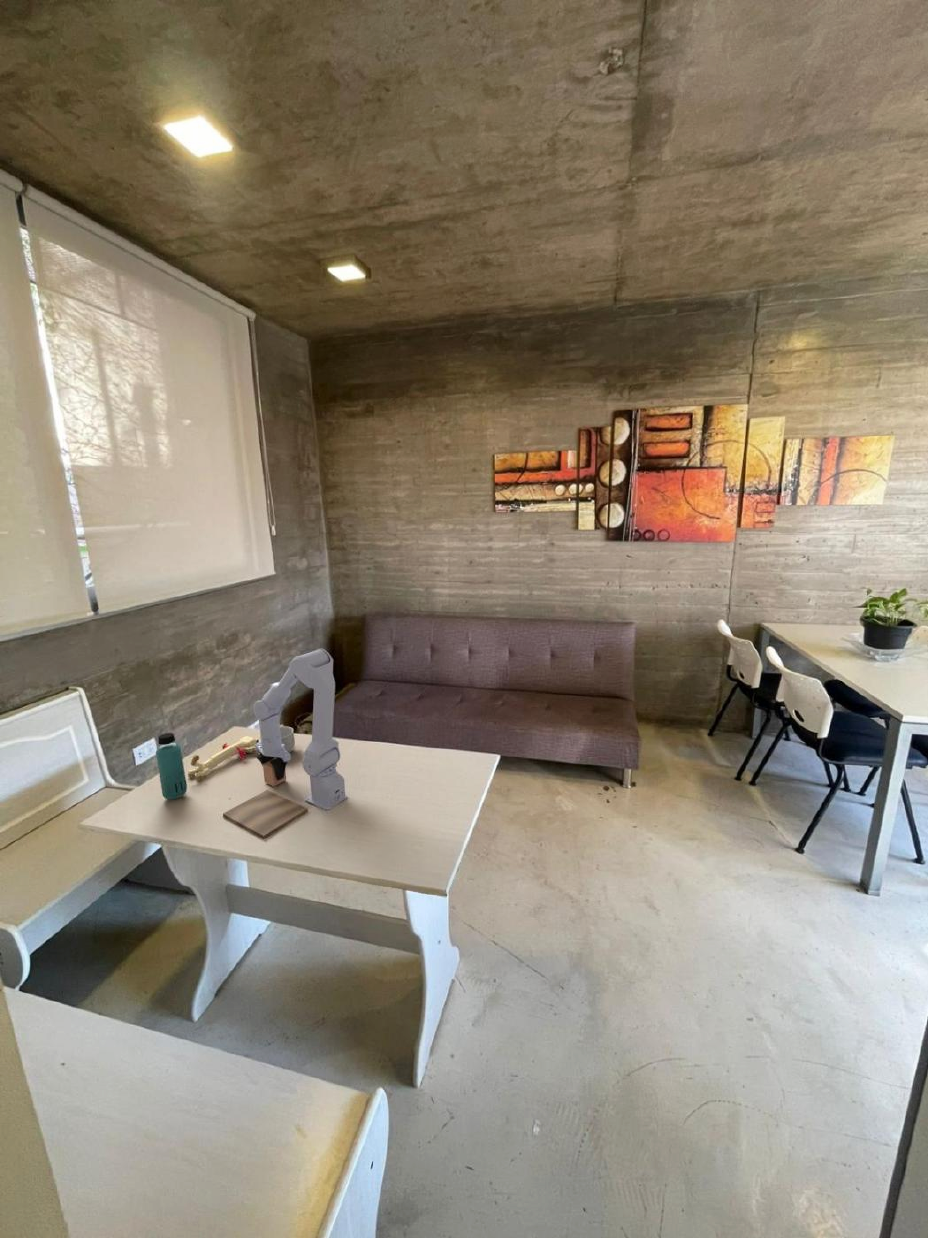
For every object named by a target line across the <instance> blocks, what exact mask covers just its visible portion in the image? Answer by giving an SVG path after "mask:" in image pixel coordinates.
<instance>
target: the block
mask: <svg viewBox="0 0 928 1238" xmlns="http://www.w3.org/2000/svg"><path fill="white" fill-rule="evenodd" d="M274 759H276V758H274ZM274 759H273V760H274ZM271 761H272V760H271ZM262 770H263V780H264V783H265V784H268V785H270V786H273V787H275V786H277V785H278V784H279V785H280V784H281V783H283V782H284V781H286V780H287V773H286V770H285V773H284V778H282V779H280V780H277V779H276V776H275V771H274V768H273V766H272V764H271V763H270V761H269V762H266V763H264V764H263V766H262Z"/></svg>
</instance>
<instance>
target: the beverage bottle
mask: <svg viewBox="0 0 928 1238" xmlns="http://www.w3.org/2000/svg"><path fill="white" fill-rule="evenodd" d="M175 741H176V737H175V734H174V733H173V732H166V733H162V734H160V735H159V736H158V741H157V743H158V745H160V746H159V747H158V748H157V749H156V751H155V755H156V761H157V768H158V772H159V782H160V788H161V795H162V797H163V798H164V799H167V800H173V799H174V800H175V799H177V798H180V797H182V796H184V795H185V794H186V793H187V789H188V784H187V779H186V774H185V773H186V772H185V768H184V767H185V764H184V759H183V753H182V749H181V745H180V744H178V743H176V742H175Z"/></svg>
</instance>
